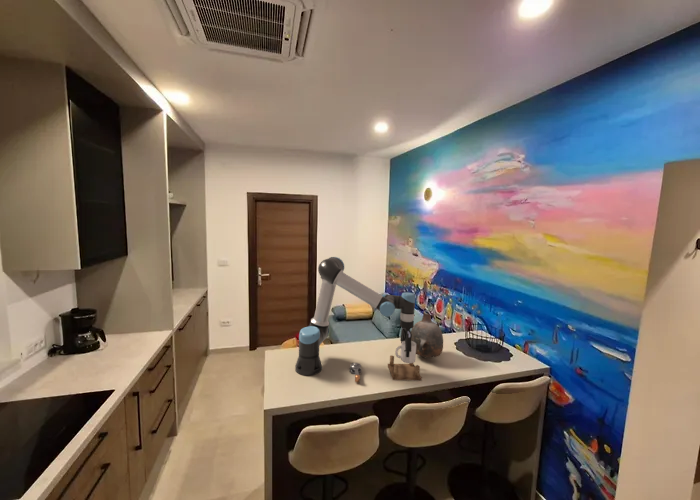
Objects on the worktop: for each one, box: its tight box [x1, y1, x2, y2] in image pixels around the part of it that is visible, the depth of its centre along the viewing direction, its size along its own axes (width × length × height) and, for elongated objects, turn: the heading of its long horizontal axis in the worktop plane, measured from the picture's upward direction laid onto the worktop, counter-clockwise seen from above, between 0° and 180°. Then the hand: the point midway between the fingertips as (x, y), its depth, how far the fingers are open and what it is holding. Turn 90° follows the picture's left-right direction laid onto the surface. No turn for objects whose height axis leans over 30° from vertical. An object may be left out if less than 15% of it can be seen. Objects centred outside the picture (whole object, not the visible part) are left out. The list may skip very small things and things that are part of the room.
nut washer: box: [349, 368, 362, 375], centre depth 175 cm, size 7×7×1 cm
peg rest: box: [387, 354, 422, 381], centre depth 176 cm, size 16×16×7 cm
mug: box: [394, 341, 417, 364], centre depth 175 cm, size 12×8×10 cm
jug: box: [410, 311, 444, 358], centre depth 197 cm, size 24×21×30 cm
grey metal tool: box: [349, 362, 362, 383], centre depth 170 cm, size 6×17×4 cm, turn 3°
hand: (404, 358), depth 176 cm, fingers closed on mug, 8 cm apart
